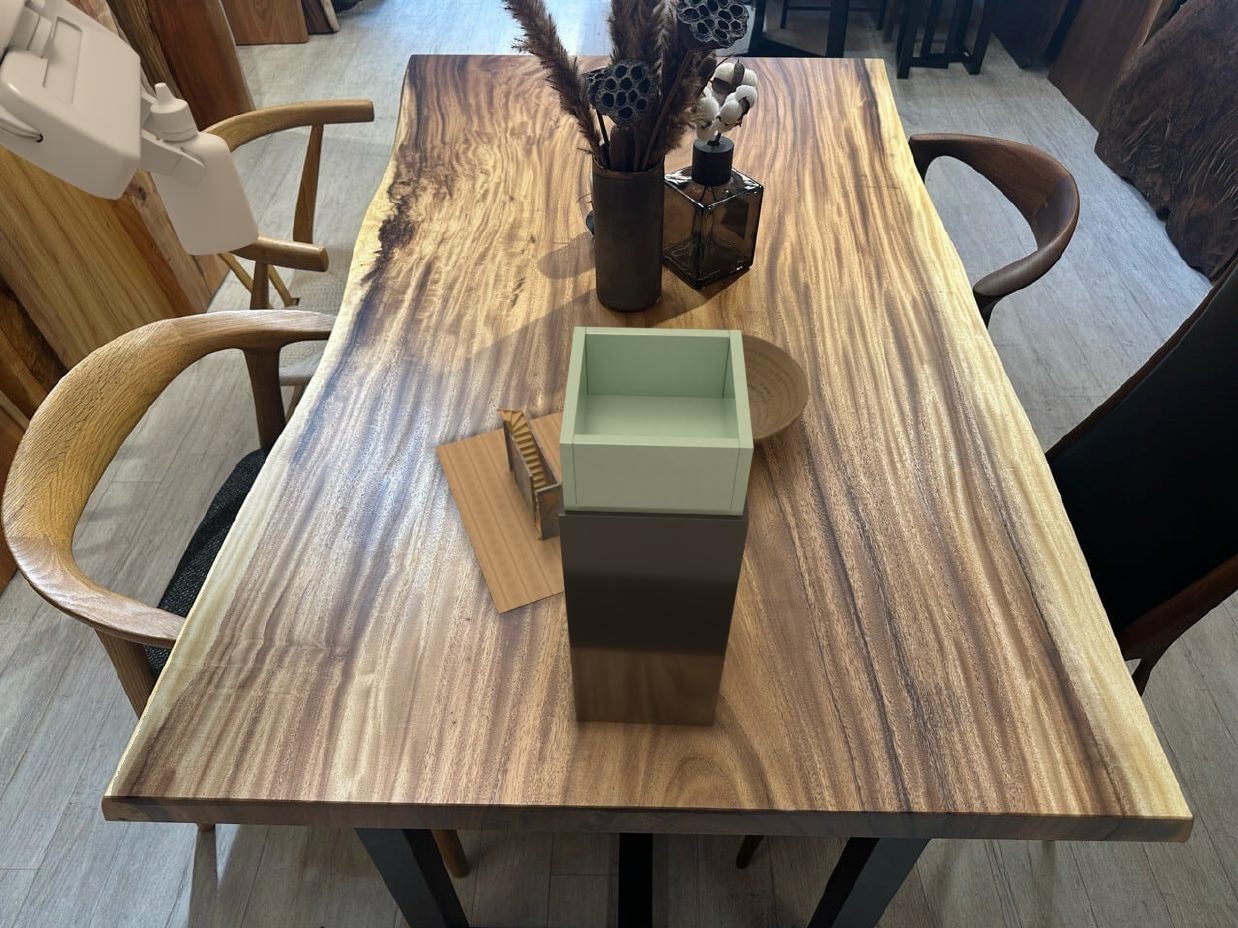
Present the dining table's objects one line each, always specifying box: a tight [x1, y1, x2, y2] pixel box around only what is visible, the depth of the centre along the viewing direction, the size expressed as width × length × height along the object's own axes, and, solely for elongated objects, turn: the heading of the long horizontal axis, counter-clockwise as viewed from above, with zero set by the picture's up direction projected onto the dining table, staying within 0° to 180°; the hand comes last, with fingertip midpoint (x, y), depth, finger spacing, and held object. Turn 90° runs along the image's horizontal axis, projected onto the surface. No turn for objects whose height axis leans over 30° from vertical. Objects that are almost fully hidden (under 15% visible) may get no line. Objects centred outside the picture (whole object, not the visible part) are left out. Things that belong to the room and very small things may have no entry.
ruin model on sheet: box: [434, 408, 564, 615], centre depth 85 cm, size 25×16×10 cm, turn 23°
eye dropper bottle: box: [149, 82, 260, 256], centre depth 59 cm, size 4×6×12 cm
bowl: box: [741, 332, 810, 446], centre depth 93 cm, size 18×18×8 cm
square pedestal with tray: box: [558, 326, 755, 727], centre depth 62 cm, size 12×12×34 cm
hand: (199, 160), depth 59 cm, fingers closed on eye dropper bottle, 3 cm apart
